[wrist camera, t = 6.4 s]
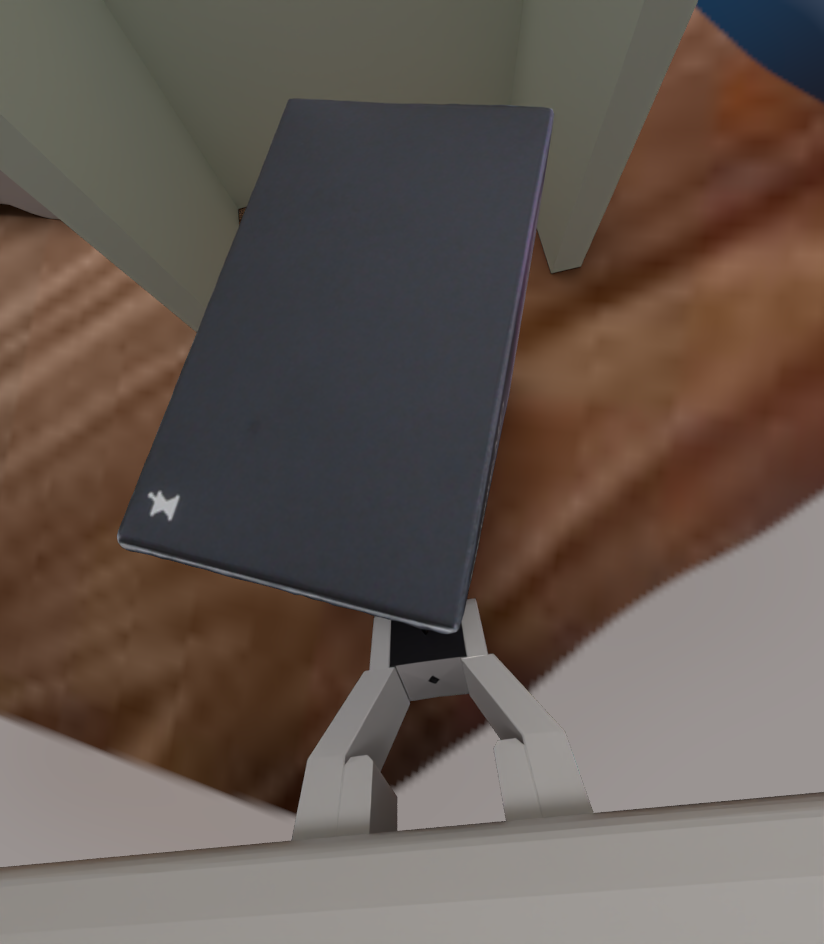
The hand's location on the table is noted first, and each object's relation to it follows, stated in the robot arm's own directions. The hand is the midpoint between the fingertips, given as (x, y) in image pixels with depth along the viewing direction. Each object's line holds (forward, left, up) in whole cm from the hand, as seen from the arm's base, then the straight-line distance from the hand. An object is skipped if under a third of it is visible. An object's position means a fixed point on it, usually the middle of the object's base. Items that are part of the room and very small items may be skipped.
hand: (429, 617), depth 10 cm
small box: (0, +6, -5) cm, 8 cm away
